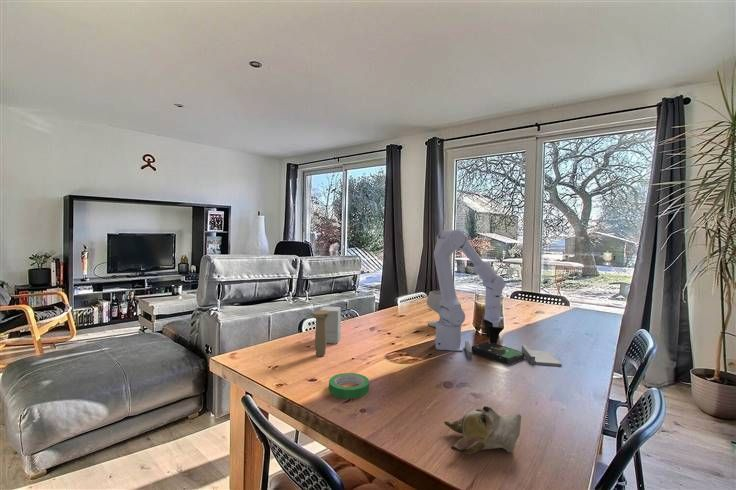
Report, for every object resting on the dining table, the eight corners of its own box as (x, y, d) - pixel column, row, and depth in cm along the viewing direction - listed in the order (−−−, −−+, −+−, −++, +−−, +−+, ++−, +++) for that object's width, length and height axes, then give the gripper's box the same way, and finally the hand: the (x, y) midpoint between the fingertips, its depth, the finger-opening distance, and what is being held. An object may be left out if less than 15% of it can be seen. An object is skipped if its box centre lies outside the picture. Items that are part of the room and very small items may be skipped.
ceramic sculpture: (530, 420, 68) (449, 420, 69) (531, 465, 68) (451, 464, 69) (512, 394, 78) (442, 395, 79) (513, 433, 79) (444, 433, 80)
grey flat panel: (468, 359, 123) (468, 351, 122) (464, 347, 134) (465, 340, 134) (561, 366, 118) (561, 358, 118) (549, 353, 130) (549, 346, 130)
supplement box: (341, 338, 143) (341, 306, 142) (337, 344, 135) (338, 311, 135) (322, 337, 144) (323, 305, 143) (318, 343, 136) (318, 310, 136)
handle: (332, 354, 124) (332, 311, 124) (318, 359, 120) (318, 315, 119) (322, 351, 128) (323, 309, 127) (308, 355, 123) (309, 312, 122)
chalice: (420, 326, 162) (421, 293, 162) (433, 319, 174) (434, 289, 173) (450, 331, 154) (451, 297, 154) (461, 324, 166) (462, 292, 165)
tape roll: (347, 377, 106) (348, 369, 106) (377, 389, 99) (377, 379, 99) (320, 390, 98) (320, 381, 98) (350, 404, 91) (350, 393, 91)
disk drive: (470, 353, 130) (508, 366, 118) (470, 346, 129) (508, 358, 118) (487, 348, 136) (525, 359, 124) (487, 340, 136) (525, 351, 124)
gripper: (508, 310, 130) (506, 347, 131) (499, 302, 145) (498, 335, 145) (487, 309, 131) (486, 346, 132) (481, 301, 146) (480, 334, 146)
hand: (491, 340), depth 139 cm, fingers open, 7 cm apart
